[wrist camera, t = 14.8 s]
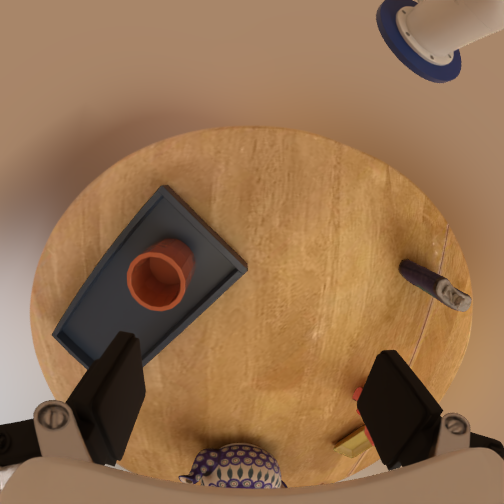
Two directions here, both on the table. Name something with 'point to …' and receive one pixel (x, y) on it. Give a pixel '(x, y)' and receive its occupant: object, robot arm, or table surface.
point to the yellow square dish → (353, 443)
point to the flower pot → (161, 274)
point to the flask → (435, 285)
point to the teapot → (235, 468)
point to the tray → (119, 296)
